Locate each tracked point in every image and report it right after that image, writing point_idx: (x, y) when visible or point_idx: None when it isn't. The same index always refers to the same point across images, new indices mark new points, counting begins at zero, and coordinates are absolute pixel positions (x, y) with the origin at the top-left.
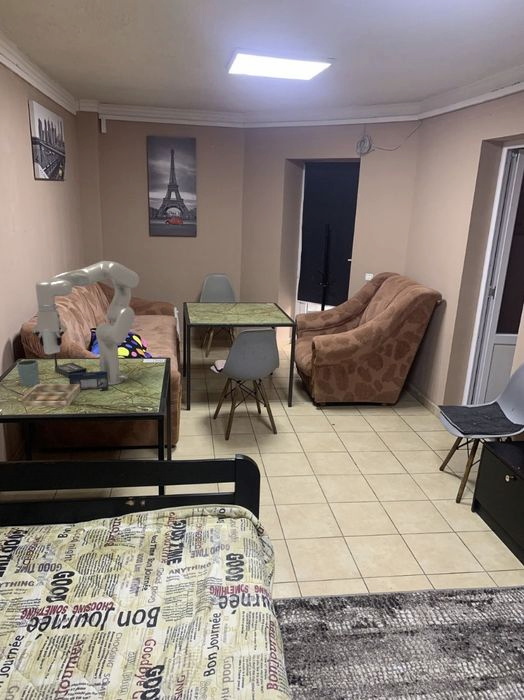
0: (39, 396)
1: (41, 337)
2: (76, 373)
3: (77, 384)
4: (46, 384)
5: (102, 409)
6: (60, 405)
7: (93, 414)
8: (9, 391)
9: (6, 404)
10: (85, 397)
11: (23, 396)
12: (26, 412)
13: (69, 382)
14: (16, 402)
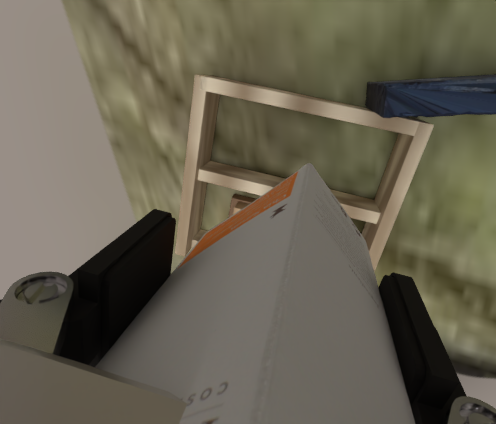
0: (236, 211)
1: (89, 349)
2: (440, 88)
3: (418, 126)
4: (247, 87)
5: (482, 327)
6: None
7: None
8: (78, 3)
9: (124, 178)
10: (433, 177)
11: (178, 237)
12: None
13: (375, 112)
14: (153, 165)
